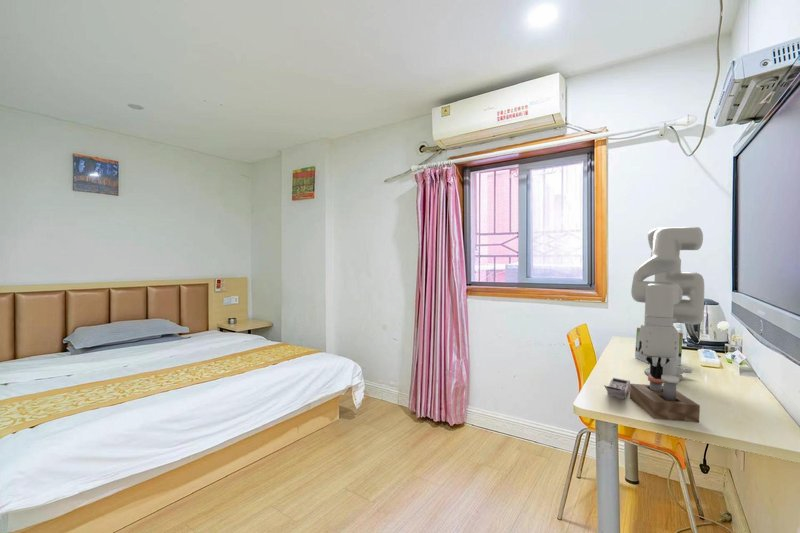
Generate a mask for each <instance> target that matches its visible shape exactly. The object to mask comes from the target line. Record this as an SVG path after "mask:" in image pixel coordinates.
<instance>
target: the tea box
mask: <svg viewBox="0 0 800 533" xmlns="http://www.w3.org/2000/svg"><path fill="white" fill-rule="evenodd" d="M640 328H641V327H637V328H636V335H635V337H636V338H635V352H634V353H635V354H634V358H636V359H638V360H640V361H642V362H644V363H646V364H649V362H648V361H647V360H644V359H640V358H639V357H638V355H639V352H638V351H637V344H638V336H639V331H640ZM678 333H679V356H678V365H681V364H682V353H683V351H682V349H683V336H684V334H683V332H680V331H678Z"/></svg>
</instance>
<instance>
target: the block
mask: <svg viewBox="0 0 800 533" xmlns="http://www.w3.org/2000/svg"><path fill="white" fill-rule="evenodd" d="M629 399H630V400H631V401H633V402H634V403H635V404H636V405H637V406H638V407H640V408H641V409H642V410H643V412H645V413H647V415H650V417H651V418H653V419H654V420H666V421H680V422H688V423H689V422H693V423H700V409H701V408H700V407H701V405H700V404H698V403H697V402H695V401H693V400H692V399H690V398H689V397H688V396H686V395H684V394H682V393H681V392H679V391H678V390H676V401H665V400H664V399H663V385H662V392H658V391H651V390H650V384H641V383H630V387H629Z"/></svg>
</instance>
